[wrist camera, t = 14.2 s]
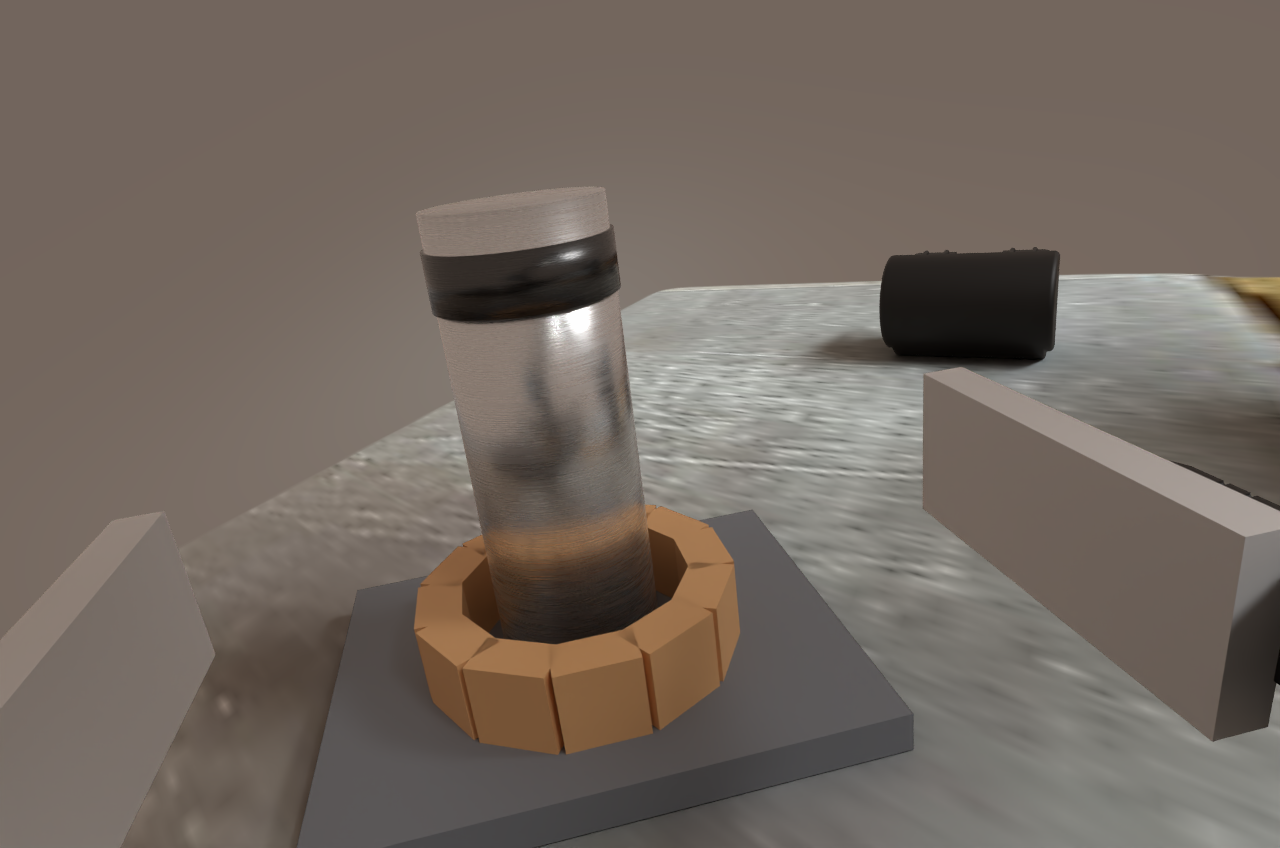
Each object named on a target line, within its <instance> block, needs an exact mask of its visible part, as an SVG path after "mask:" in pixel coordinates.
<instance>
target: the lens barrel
mask: <svg viewBox="0 0 1280 848" xmlns="http://www.w3.org/2000/svg"><path fill="white" fill-rule="evenodd" d="M416 217H417V222H418V227H419V232H420V237H421V241H422V246H423V250H421V252H420V256H421V261H422V265H423V270H424V275H425V280H426V284H427V289H428V294H429V299H430V304H431V308H432V313H433V315H434V316H436V317H437V318H438V323H439V328H440V333H441V337H442V343H443V347H444V352H445V357H446V362H447V367H448V371H449V376H450V381H451V386H452V391H453V395H454V400H455V405H456V410H457V415H458V420H459V424H460V429H461V434H462V439H463V444H464V448H465V453H466V458H467V463H468V468H469V473H470V477H471V482H472V487H473V492H474V497H475V501H476V506H477V511H478V516H479V521H480V526H481V530H482V535H483V540H484V545H485V550H486V554H487V559H488V564H489V569H490V574H491V578H492V583H493V588H494V593H495V598H496V603H497V607H498V612H499V617H500V622H501V627H502V631H503V636H504V639H509V640H518V641H528V642H537V643H546V644H561V643H565V642H570V641H574V640H579V639H583V638H588V637H592V636H597V635H601V634H606V633H610V632H615V631H619V630H623V629H625V628H627V627H628V626H630V625H631V624H633V623H635V622H636V621H638V620H639V619H641V618H643V617H644V616H646V615H648V614H649V613H651V612H652V611H654V610H656V609H657V608H658V604H657V597H656V589H655V581H654V573H653V565H652V557H651V549H650V541H649V533H648V525H647V517H646V510H645V502H644V494H643V486H642V478H641V470H640V462H639V454H638V446H637V438H636V430H635V422H634V415H633V407H632V399H631V391H630V383H629V375H628V367H627V359H626V351H625V343H624V335H623V328H622V320H621V312H620V304H619V296H618V290H619V289H620V287H621V283H620V275H619V267H618V259H617V252H616V244H615V235H614V227H613V225H611V224H609V217H608V209H607V201H606V194H605V188H603V187H572V188H559V189H548V190H539V191H530V192H523V193H522V192H521V193H514V194H507V195H499V196H492V197H486V198H479V199H473V200H467V201H461V202H455V203H450V204H445V205H441V206H436V207H432V208H428V209H424V210H421V211H418V212H417V213H416Z"/></svg>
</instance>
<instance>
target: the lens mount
mask: <svg viewBox="0 0 1280 848" xmlns="http://www.w3.org/2000/svg"><path fill="white" fill-rule="evenodd" d="M645 510H646V517H647V525H648V533H649V541H650V549H651V557H652V565H653V573H654V581H655V589H656V597H657V604H658V608H657V609H656V610H654V611H652V612H651V613H649V614H648V615H646V616H644V617H643V618H641V619H639V620H638V621H636V622H635V623H633V624H631V625H630V626H628V627H627V628H625V629H623V630H619V631H615V632H610V633H606V634H601V635H597V636H592V637H588V638H583V639H579V640H574V641H570V642H565V643H561V644H546V643H537V642H528V641H518V640H509V639H504V636H503V631H502V627H501V622H500V617H499V612H498V607H497V603H496V598H495V593H494V588H493V583H492V578H491V574H490V569H489V564H488V559H487V554H486V550H485V545H484V540H483V535H480V536H478V537H476V538H474V539H472V540H470V541H467V542H465V543H463V547H457V548H456V549H455V550H454V551H453V552H452V553H451V554H450V555H449V556H448V557H447V558H446V559H445V560H444V561H443V562H442V563H441V564H440V565H439V566H438V567H437V568H436V569H435V570H434V571H433V572H432V573H431V574H430V575H429V576H425V577H420V578H415V579H411V580H406V581H401V582H396V583H391V584H386V585H381V586H376V587H371V588H366V589H361V590H357V594H356V599H355V603H354V607H353V611H352V616H351V620H350V624H349V628H348V633H347V637H346V641H345V645H344V649H343V654H342V658H341V662H340V666H339V671H338V675H337V679H336V683H335V687H334V692H333V696H332V700H331V704H330V709H329V713H328V717H327V721H326V726H325V730H324V734H323V738H322V742H321V747H320V751H319V755H318V759H317V764H316V768H315V772H314V776H313V781H312V785H311V789H310V793H309V797H308V802H307V806H306V810H305V814H304V819H303V823H302V827H301V831H300V836H299V840H298V844H297V848H534V847H538V846H542V845H546V844H550V843H554V842H558V841H561V840H565V839H569V838H573V837H577V836H581V835H585V834H588V833H592V832H596V831H600V830H604V829H608V828H612V827H615V826H619V825H623V824H627V823H631V822H635V821H639V820H643V819H646V818H650V817H654V816H658V815H662V814H666V813H670V812H673V811H677V810H681V809H685V808H689V807H693V806H697V805H701V804H704V803H708V802H712V801H716V800H720V799H724V798H728V797H731V796H735V795H739V794H743V793H747V792H751V791H755V790H758V789H762V788H766V787H770V786H774V785H778V784H782V783H786V782H789V781H793V780H797V779H801V778H805V777H809V776H813V775H816V774H820V773H824V772H828V771H832V770H836V769H840V768H844V767H847V766H851V765H855V764H859V763H863V762H867V761H871V760H874V759H878V758H882V757H886V756H890V755H894V754H898V753H901V752H905V751H909V750H913V713H912V711H911V710H910V709H909V708H908V706H907V705H906V704H905V702H904V701H903V700H902V699H901V697H900V696H899V695H898V694H897V692H896V691H895V690H894V689H893V687H892V686H891V685H890V683H889V682H888V681H887V680H886V678H885V677H884V676H883V675H882V673H881V672H880V671H879V670H878V668H877V667H876V666H875V664H874V663H873V662H872V661H871V659H870V658H869V657H868V656H867V654H866V653H865V652H864V650H863V649H862V648H861V647H860V645H859V644H858V643H857V642H856V640H855V639H854V638H853V637H852V635H851V634H850V633H849V631H848V630H847V629H846V628H845V626H844V625H843V624H842V623H841V621H840V620H839V619H838V617H837V616H836V615H835V614H834V612H833V611H832V610H831V609H830V607H829V606H828V605H827V604H826V602H825V601H824V600H823V598H822V597H821V596H820V595H819V593H818V592H817V591H816V590H815V588H814V587H813V586H812V585H811V583H810V582H809V581H808V579H807V578H806V577H805V576H804V574H803V573H802V572H801V571H800V569H799V568H798V567H797V565H796V564H795V563H794V562H793V560H792V559H791V558H790V557H789V555H788V554H787V553H786V552H785V550H784V549H783V548H782V546H781V545H780V544H779V543H778V541H777V540H776V539H775V538H774V536H773V535H772V534H771V533H770V531H769V530H768V529H767V527H766V526H765V525H764V524H763V522H762V521H761V520H760V519H759V517H758V516H757V515H756V513H755V512H754V511H753V510H749V511H744V512H739V513H734V514H729V515H724V516H719V517H714V518H709V519H705V520H700V521H698V520H695V519H693V518H690V517H687V516H685V515H682V514H680V513H677V512H674V511H672V510H669V509H667V508H664V507H661V506H660V507H658V508H656V505H645Z"/></svg>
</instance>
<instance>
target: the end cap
mask: <svg viewBox="0 0 1280 848" xmlns="http://www.w3.org/2000/svg"><path fill="white" fill-rule="evenodd" d="M1059 264H1060V254H1059V252H1057V251H1049V250H1045V249H1044V250H1043V249H1042V250H1038V249H1037V248H1036V247H1034V248H1033V250H1015V248H1011V250H1008V251H1003V252H998V253H966V254H965V253H963V254H957V253H956V252H949V251H948V250H946V251H944V252H943V253H929V252H928V251H925V252H924V253H918V254H915V255H895V256H891V257H890V258H889V260H888V261H887V264H886V266H885V269H884V272H883V277H882V283H881V291H880V326H881V333H882V337H883V340H884V342H885V344H886V345H887V346H888V347H892V348H893V350H894V352H895V353H896V355H924V356H958V357H993V358H1028V359H1044V358H1045V356H1046V352H1047V351H1051V350H1052V349H1053V348H1054V345H1055V330H1056V313H1057V297H1058V280H1059Z"/></svg>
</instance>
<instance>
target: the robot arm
mask: <svg viewBox="0 0 1280 848" xmlns="http://www.w3.org/2000/svg"><path fill="white" fill-rule="evenodd" d="M923 509H924V510H925V511H927V512H928V513H929V514H930V515H932V516H933V517H934V518H935V519H937V520H938V521H939V522H940V523H942V524H943V525H944V526H945V527H946V528H948V529H949V530H950V531H951V532H953V533H954V534H955V535H956V536H958V537H959V538H960V539H961V540H963V541H964V542H965V543H966V544H968V545H969V546H970V547H971V548H973V549H974V550H975V551H976V552H978V553H979V554H980V555H981V556H983V557H984V558H985V559H986V560H987V561H989V562H990V563H991V564H992V565H994V566H995V567H996V568H997V569H999V570H1000V571H1001V572H1002V573H1004V574H1005V575H1006V576H1007V577H1009V578H1010V579H1011V580H1012V581H1014V582H1015V583H1016V584H1017V585H1019V586H1020V587H1021V588H1022V589H1024V590H1025V591H1026V592H1027V593H1028V594H1030V595H1031V596H1032V597H1033V598H1035V599H1036V600H1037V601H1038V602H1040V603H1041V604H1042V605H1043V606H1045V607H1046V608H1047V609H1048V610H1050V611H1051V612H1052V613H1053V614H1055V615H1056V616H1057V617H1058V618H1060V619H1061V620H1062V621H1063V622H1065V623H1066V624H1067V625H1068V626H1069V627H1071V628H1072V629H1073V630H1074V631H1076V632H1077V633H1078V634H1079V635H1081V636H1082V637H1083V638H1084V639H1086V640H1087V641H1088V642H1089V643H1091V644H1092V645H1093V646H1094V647H1096V648H1097V649H1098V650H1099V651H1101V652H1102V653H1103V654H1104V655H1106V656H1107V657H1108V658H1109V659H1110V660H1112V661H1113V662H1114V663H1115V664H1117V665H1118V666H1119V667H1120V668H1122V669H1123V670H1124V671H1125V672H1127V673H1128V674H1129V675H1130V676H1132V677H1133V678H1134V679H1135V680H1137V681H1138V682H1139V683H1140V684H1142V685H1143V686H1144V687H1145V688H1147V689H1148V690H1149V691H1150V692H1151V693H1153V694H1154V695H1155V696H1156V697H1158V698H1159V699H1160V700H1161V701H1163V702H1164V703H1165V704H1166V705H1168V706H1169V707H1170V708H1171V709H1173V710H1174V711H1175V712H1176V713H1178V714H1179V715H1180V716H1181V717H1183V718H1184V719H1185V720H1186V721H1188V722H1189V723H1190V724H1191V725H1192V726H1194V727H1195V728H1196V729H1197V730H1199V731H1200V732H1201V733H1202V734H1204V735H1205V736H1206V737H1207V738H1209V739H1210V740H1211V741H1216V740H1220V739H1224V738H1227V737H1231V736H1235V735H1239V734H1242V733H1246V732H1250V731H1254V730H1257V729H1261V728H1265V727H1268V723H1269V718H1270V713H1271V707H1272V702H1273V697H1274V692H1275V686H1276V683H1277V684H1279V685H1280V506H1279V505H1276V504H1274V503H1272V502H1270V501H1268V500H1265V499H1263V498H1261V497H1259V496H1254V497H1251V495H1250V492H1247V491H1245V490H1243V489H1241V488H1238V487H1236V486H1234V485H1232V484H1226V485H1225V484H1224V482H1223V480H1221V479H1218V478H1216V477H1214V476H1212V475H1209V474H1207V473H1205V472H1203V471H1201V470H1198V469H1196V468H1194V467H1192V466H1188V465H1184V464H1180V463H1176V462H1172V461H1168V460H1166V459H1164V458H1162V457H1159V456H1157V455H1155V454H1153V453H1151V452H1148V451H1146V450H1144V449H1142V448H1140V447H1137V446H1135V445H1133V444H1131V443H1129V442H1126V441H1124V440H1122V439H1120V438H1118V437H1115V436H1113V435H1111V434H1109V433H1107V432H1104V431H1102V430H1100V429H1098V428H1096V427H1093V426H1091V425H1089V424H1087V423H1085V422H1082V421H1080V420H1078V419H1076V418H1074V417H1071V416H1069V415H1067V414H1065V413H1063V412H1060V411H1058V410H1056V409H1054V408H1052V407H1049V406H1047V405H1045V404H1043V403H1041V402H1038V401H1036V400H1034V399H1032V398H1030V397H1027V396H1025V395H1023V394H1021V393H1018V392H1016V391H1014V390H1012V389H1010V388H1007V387H1005V386H1003V385H1001V384H999V383H996V382H994V381H992V380H990V379H988V378H985V377H983V376H981V375H979V374H977V373H974V372H972V371H970V370H968V369H966V368H963V367H958V368H952V369H947V370H941V371H936V372H930V373H925V374H924V384H923ZM215 655H216V654H215V651H214V648H213V646H212V643H211V640H210V637H209V635H208V632H207V629H206V626H205V623H204V621H203V618H202V615H201V612H200V609H199V607H198V604H197V601H196V598H195V595H194V593H193V590H192V587H191V584H190V581H189V579H188V576H187V573H186V570H185V567H184V565H183V562H182V559H181V556H180V554H179V551H178V548H177V545H176V542H175V540H174V537H173V534H172V531H171V528H170V526H169V523H168V520H167V517H166V514H165V512H164V511H161V512H155V513H150V514H144V515H138V516H133V517H127V518H122V519H116V520H113V521H112V522H111V523H110V524H109V525H108V526H107V527H106V528H105V529H104V530H103V531H102V532H101V533H100V534H99V535H98V536H97V538H96V539H95V540H94V541H93V542H92V543H91V544H90V545H89V546H88V547H87V548H86V549H85V550H84V551H83V552H82V554H81V555H80V556H79V557H78V558H77V559H76V560H75V561H74V562H73V563H72V564H71V565H70V566H69V567H68V568H67V569H66V570H65V572H64V573H63V574H62V575H61V576H60V577H59V578H58V579H57V580H56V581H55V582H54V583H53V584H52V585H51V586H50V588H49V589H48V590H47V591H46V592H45V593H44V594H43V595H42V596H41V597H40V598H39V599H38V600H37V601H36V602H35V604H34V605H33V606H32V607H31V608H30V609H29V610H28V611H27V612H26V613H25V614H24V615H23V616H22V617H21V618H20V619H19V620H18V621H17V622H16V624H15V625H14V626H13V627H12V628H11V629H10V630H9V631H8V632H7V633H6V634H5V635H4V636H3V637H2V638H1V639H0V848H120V847H121V845H122V843H123V841H124V839H125V837H126V835H127V833H128V831H129V829H130V827H131V825H132V823H133V821H134V819H135V817H136V815H137V813H138V811H139V809H140V807H141V805H142V803H143V801H144V799H145V797H146V795H147V793H148V791H149V789H150V787H151V785H152V783H153V781H154V779H155V777H156V774H157V772H158V770H159V768H160V766H161V764H162V762H163V760H164V758H165V756H166V754H167V752H168V750H169V748H170V746H171V744H172V742H173V740H174V738H175V736H176V734H177V732H178V730H179V728H180V726H181V724H182V722H183V720H184V718H185V716H186V714H187V712H188V710H189V708H190V706H191V704H192V702H193V700H194V697H195V695H196V693H197V691H198V689H199V687H200V685H201V683H202V681H203V679H204V677H205V675H206V673H207V671H208V669H209V667H210V665H211V663H212V661H213V659H214V657H215Z"/></svg>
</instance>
